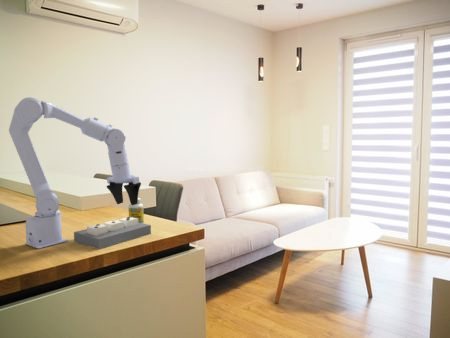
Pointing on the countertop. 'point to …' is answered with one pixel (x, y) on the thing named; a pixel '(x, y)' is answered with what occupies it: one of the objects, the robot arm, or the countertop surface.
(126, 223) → the tile three
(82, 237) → the button board
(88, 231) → the tile two
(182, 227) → the countertop surface
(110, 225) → the tile one
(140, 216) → the supplement bottle
